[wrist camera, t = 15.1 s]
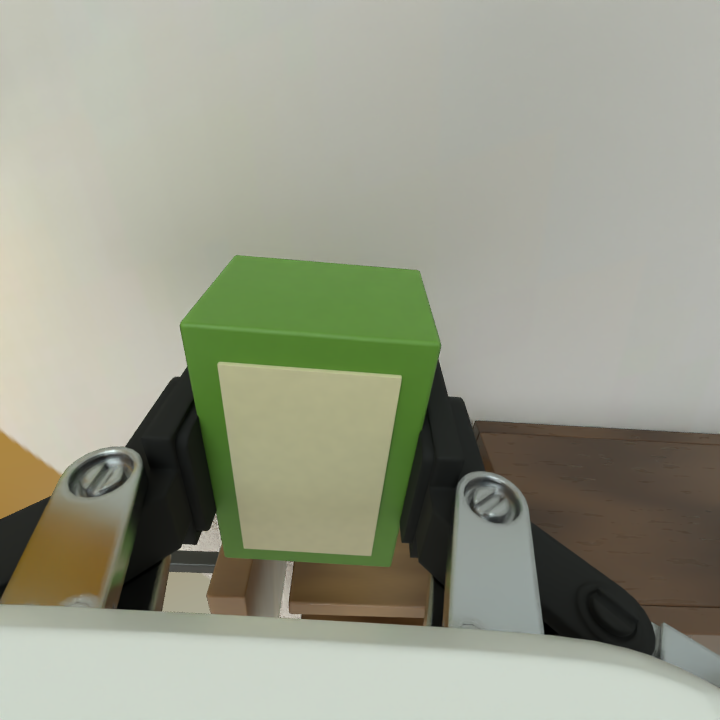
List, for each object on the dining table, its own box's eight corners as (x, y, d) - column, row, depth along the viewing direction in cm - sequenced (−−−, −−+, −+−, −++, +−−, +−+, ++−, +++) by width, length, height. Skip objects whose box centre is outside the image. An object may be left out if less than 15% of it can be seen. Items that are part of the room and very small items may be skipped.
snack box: (234, 253, 9) (174, 325, 6) (420, 269, 9) (443, 347, 7) (254, 459, 13) (222, 562, 10) (386, 468, 13) (391, 572, 10)
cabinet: (429, 562, 26) (458, 752, 19) (475, 420, 19) (551, 629, 12) (642, 571, 27) (753, 756, 19) (760, 436, 20) (1005, 643, 12)
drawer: (179, 562, 24) (121, 717, 18) (137, 424, 18) (26, 590, 12) (481, 573, 25) (520, 724, 19) (540, 445, 19) (626, 610, 13)
